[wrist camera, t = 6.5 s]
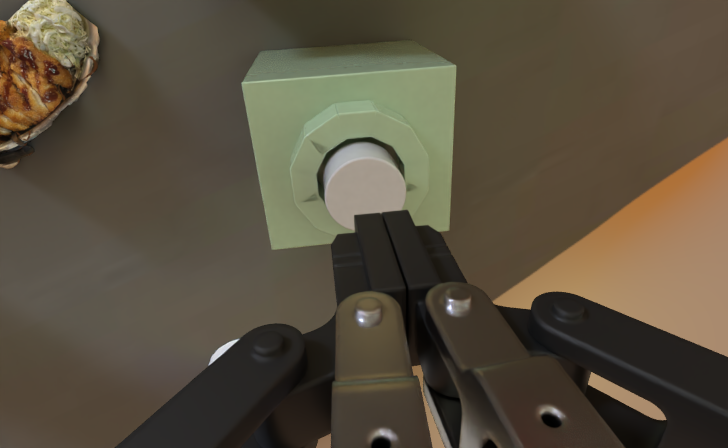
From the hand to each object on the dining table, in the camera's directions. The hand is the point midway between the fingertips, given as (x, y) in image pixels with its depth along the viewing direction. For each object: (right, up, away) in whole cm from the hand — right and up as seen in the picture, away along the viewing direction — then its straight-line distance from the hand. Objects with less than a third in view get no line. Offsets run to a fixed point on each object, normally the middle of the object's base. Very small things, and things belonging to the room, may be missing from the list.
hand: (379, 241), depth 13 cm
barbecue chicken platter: (-22, +10, +15) cm, 29 cm away
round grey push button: (-1, +3, +9) cm, 9 cm away
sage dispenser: (-2, +8, +19) cm, 21 cm away
